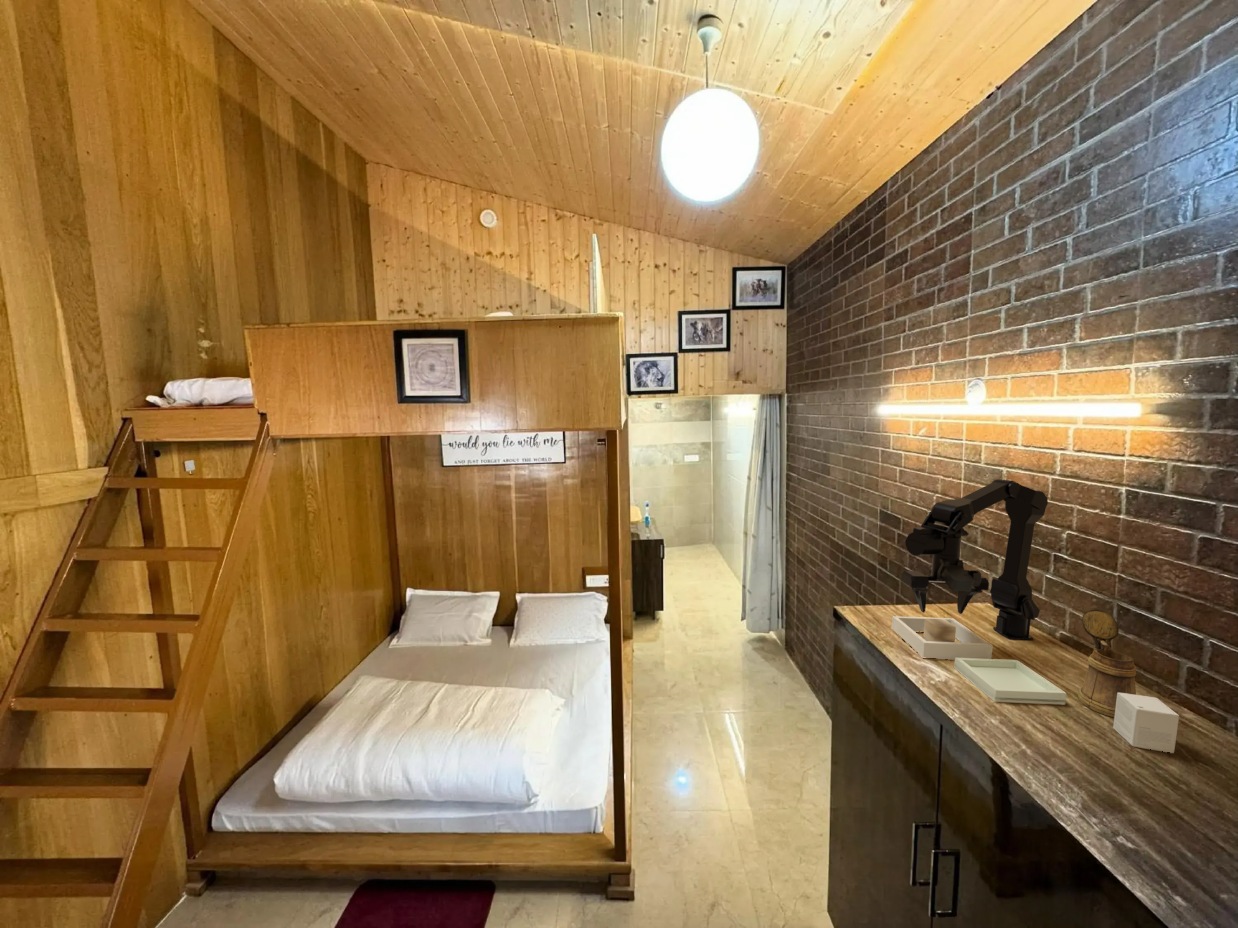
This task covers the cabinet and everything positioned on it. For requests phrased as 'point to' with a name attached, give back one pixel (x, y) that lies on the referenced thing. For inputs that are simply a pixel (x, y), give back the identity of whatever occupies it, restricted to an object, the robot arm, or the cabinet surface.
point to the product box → (1146, 722)
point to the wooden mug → (1105, 665)
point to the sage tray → (1009, 681)
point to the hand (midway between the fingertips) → (941, 612)
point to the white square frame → (965, 648)
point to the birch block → (939, 630)
